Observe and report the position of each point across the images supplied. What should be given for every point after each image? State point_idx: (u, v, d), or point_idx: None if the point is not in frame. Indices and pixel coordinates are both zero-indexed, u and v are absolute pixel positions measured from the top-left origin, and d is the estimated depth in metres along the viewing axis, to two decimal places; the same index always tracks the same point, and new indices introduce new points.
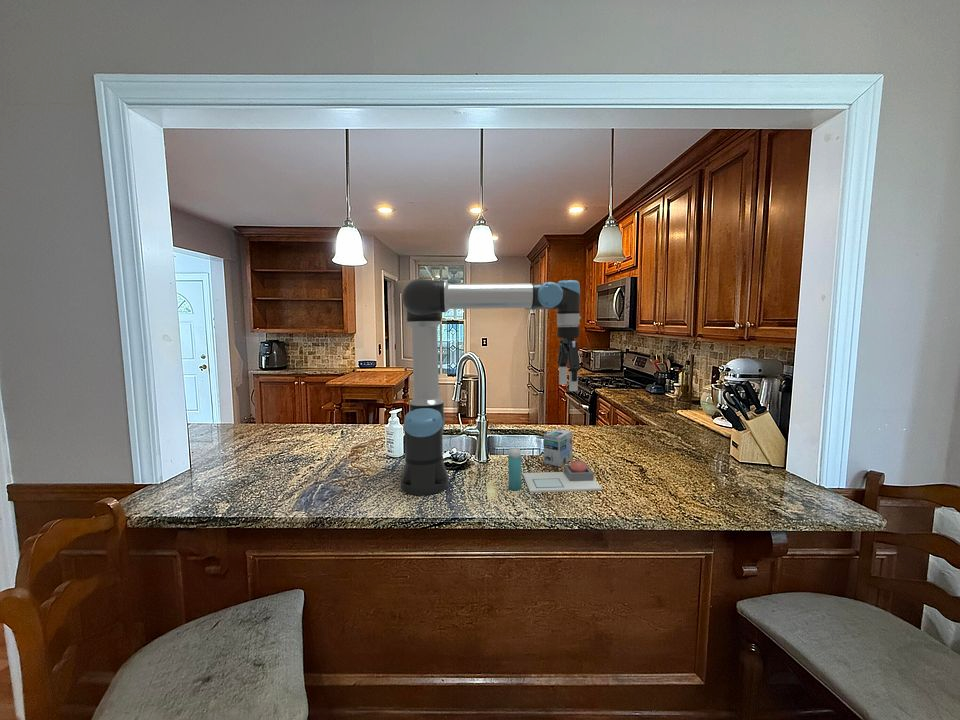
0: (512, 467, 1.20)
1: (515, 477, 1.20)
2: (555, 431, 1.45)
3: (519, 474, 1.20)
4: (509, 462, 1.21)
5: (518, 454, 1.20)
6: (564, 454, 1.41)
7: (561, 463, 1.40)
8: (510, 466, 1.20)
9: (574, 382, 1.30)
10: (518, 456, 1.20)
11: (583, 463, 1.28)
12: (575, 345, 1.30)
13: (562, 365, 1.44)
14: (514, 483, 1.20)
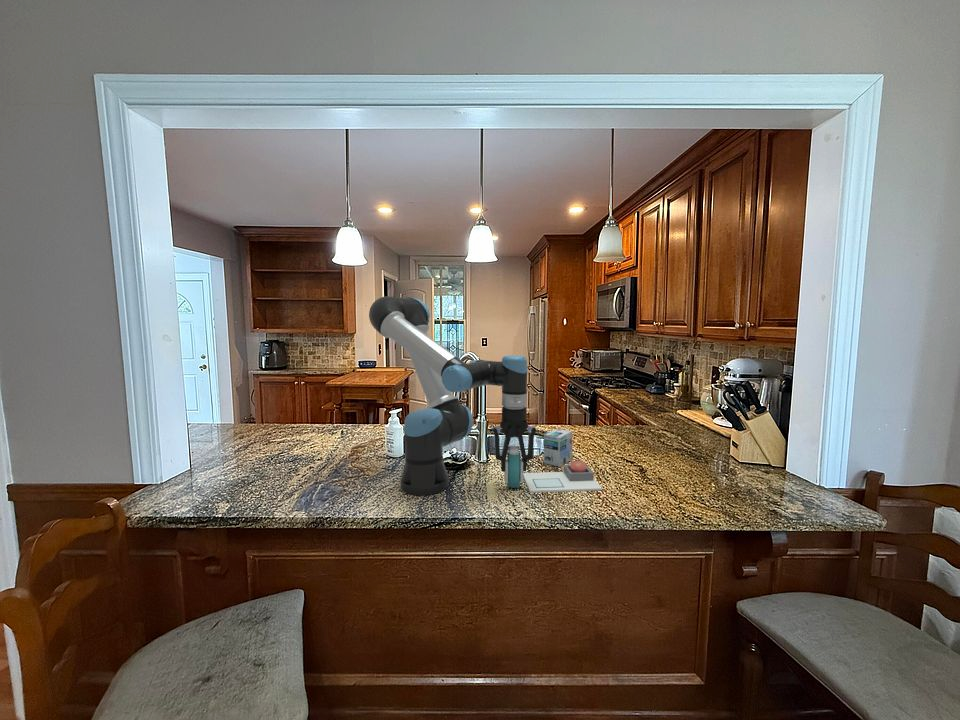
0: (511, 464, 1.20)
1: (514, 474, 1.20)
2: (555, 431, 1.45)
3: (518, 471, 1.20)
4: (508, 459, 1.21)
5: (517, 451, 1.20)
6: (564, 454, 1.41)
7: (561, 463, 1.40)
8: (509, 463, 1.20)
9: (505, 472, 1.22)
10: (517, 453, 1.20)
11: (583, 463, 1.28)
12: (494, 433, 1.20)
13: (522, 458, 1.22)
14: (512, 480, 1.20)
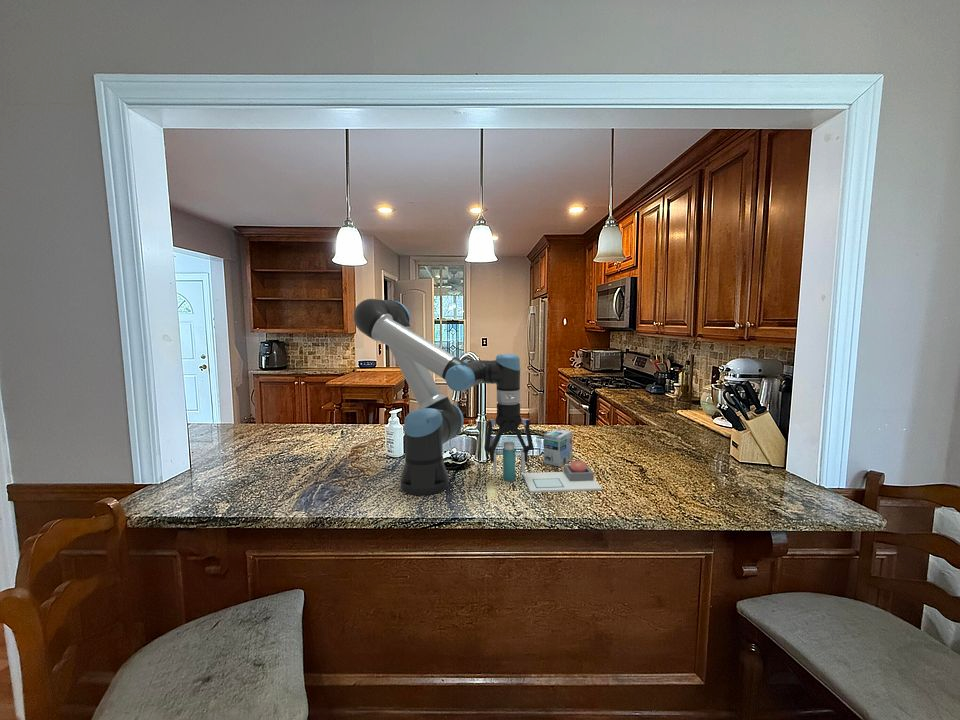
0: (506, 459, 1.27)
1: (509, 469, 1.27)
2: (555, 431, 1.45)
3: (513, 466, 1.27)
4: (503, 455, 1.27)
5: (512, 447, 1.27)
6: (564, 454, 1.41)
7: (561, 463, 1.40)
8: (504, 458, 1.27)
9: (493, 463, 1.28)
10: (512, 449, 1.27)
11: (583, 463, 1.28)
12: (488, 425, 1.27)
13: (523, 449, 1.29)
14: (508, 474, 1.27)
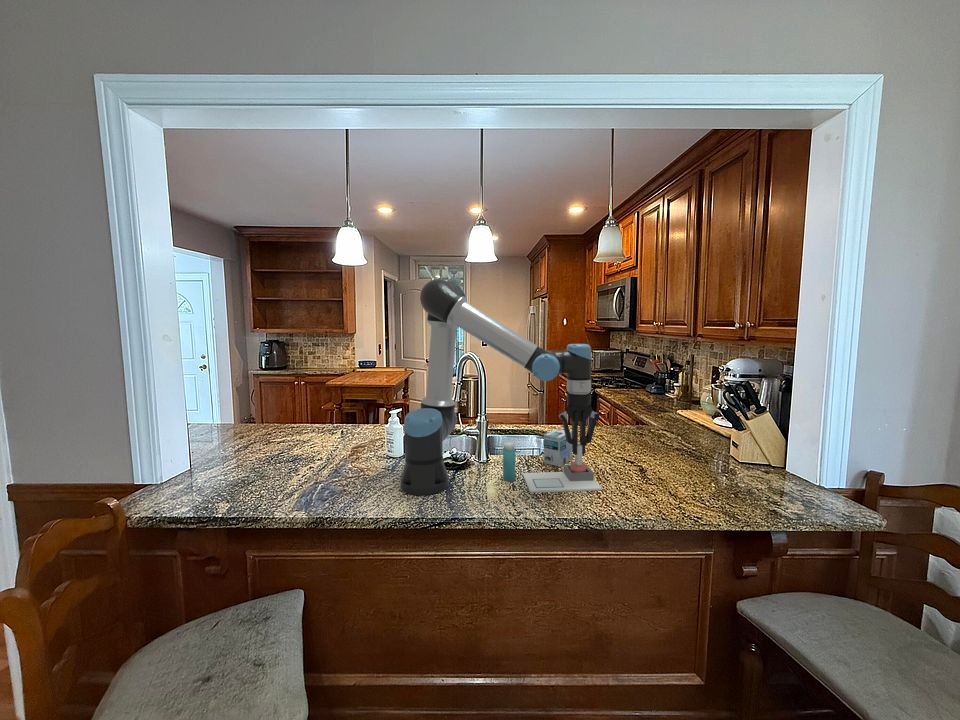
0: (506, 459, 1.27)
1: (509, 469, 1.27)
2: (555, 431, 1.45)
3: (513, 466, 1.27)
4: (504, 454, 1.27)
5: (512, 447, 1.27)
6: (564, 454, 1.41)
7: (561, 463, 1.40)
8: (505, 458, 1.27)
9: (576, 455, 1.28)
10: (512, 449, 1.27)
11: (583, 464, 1.29)
12: (561, 419, 1.26)
13: (580, 442, 1.28)
14: (508, 474, 1.27)
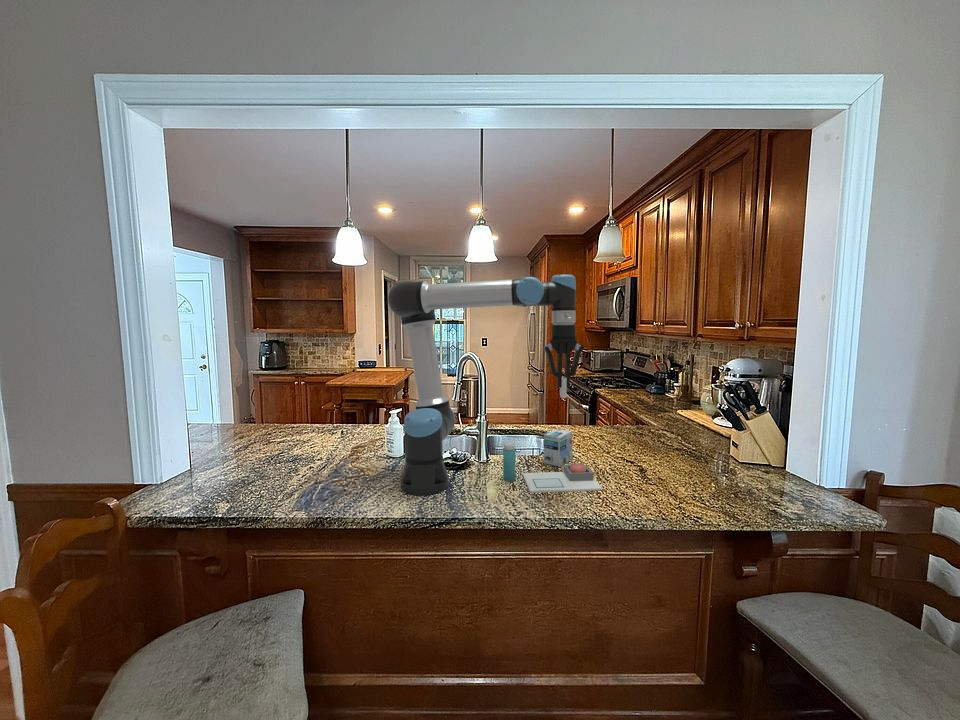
0: (506, 459, 1.27)
1: (509, 469, 1.27)
2: (555, 431, 1.45)
3: (513, 466, 1.27)
4: (504, 455, 1.27)
5: (512, 447, 1.27)
6: (564, 454, 1.41)
7: (561, 463, 1.40)
8: (505, 458, 1.27)
9: (561, 388, 1.28)
10: (512, 449, 1.27)
11: (583, 466, 1.29)
12: (546, 351, 1.26)
13: (565, 375, 1.28)
14: (508, 474, 1.27)
